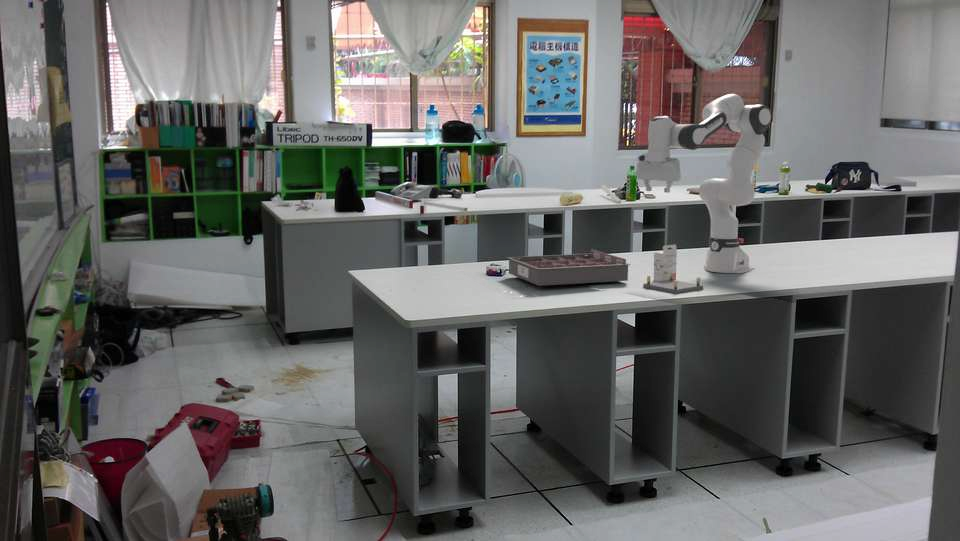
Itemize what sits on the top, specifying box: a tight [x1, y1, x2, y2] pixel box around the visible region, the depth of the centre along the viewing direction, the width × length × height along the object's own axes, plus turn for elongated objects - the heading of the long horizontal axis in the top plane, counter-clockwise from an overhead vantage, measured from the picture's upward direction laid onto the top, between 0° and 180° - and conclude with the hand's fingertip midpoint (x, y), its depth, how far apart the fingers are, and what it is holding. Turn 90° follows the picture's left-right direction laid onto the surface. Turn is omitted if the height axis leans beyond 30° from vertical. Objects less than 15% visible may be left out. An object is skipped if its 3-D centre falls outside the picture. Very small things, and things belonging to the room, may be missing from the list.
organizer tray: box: [506, 249, 631, 287], centre depth 359 cm, size 32×40×10 cm
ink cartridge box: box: [653, 244, 678, 282], centre depth 359 cm, size 9×5×15 cm, turn 129°
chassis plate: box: [642, 273, 704, 295], centre depth 342 cm, size 16×16×4 cm
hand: (657, 191), depth 359 cm, fingers open, 8 cm apart
